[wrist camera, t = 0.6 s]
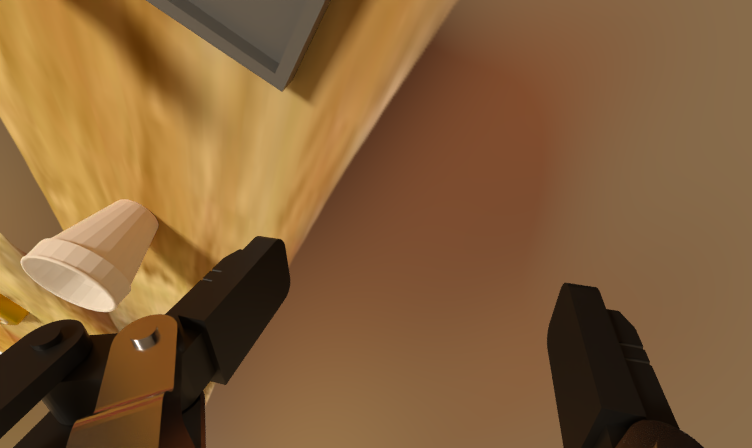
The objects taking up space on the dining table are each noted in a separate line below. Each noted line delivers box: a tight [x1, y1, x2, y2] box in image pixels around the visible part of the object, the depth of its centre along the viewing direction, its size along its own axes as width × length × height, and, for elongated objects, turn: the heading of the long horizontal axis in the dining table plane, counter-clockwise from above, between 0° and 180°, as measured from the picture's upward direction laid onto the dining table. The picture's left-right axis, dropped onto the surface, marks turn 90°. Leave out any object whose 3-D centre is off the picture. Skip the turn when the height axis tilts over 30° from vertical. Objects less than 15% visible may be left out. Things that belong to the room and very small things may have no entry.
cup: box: [21, 199, 159, 312], centre depth 53 cm, size 12×12×14 cm
